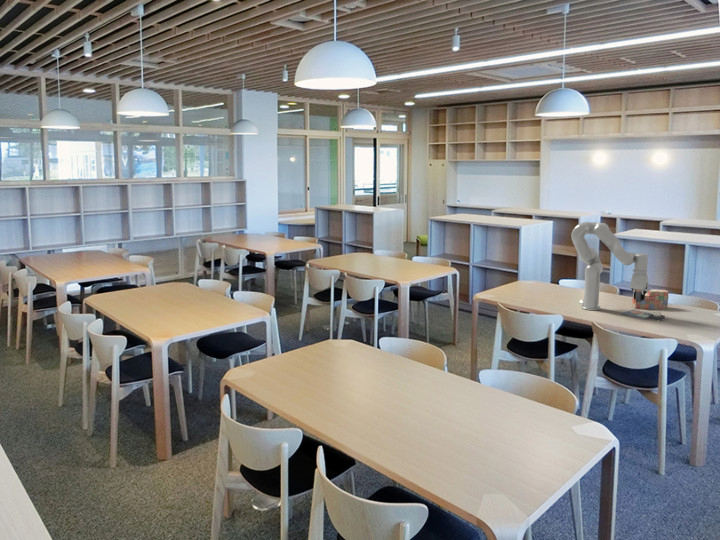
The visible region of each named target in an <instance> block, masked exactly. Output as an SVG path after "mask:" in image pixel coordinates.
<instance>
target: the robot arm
mask: <svg viewBox="0 0 720 540" xmlns="http://www.w3.org/2000/svg"><path fill="white" fill-rule="evenodd" d="M609 227H610V226H609V225H608V224H607V223H604V222H593V221H591V222H590V221H584V222H580V223H578V224H577V225H576V226H575V227H574V228H573V230H572V231H571V233H570V234H571V241H572V244H573V247H574V248H575V250H576V252H577V254H578V256H579V260H580V261H582V262H583V263H584V264H586V267H585V270H584V296H583V299H580V301H579V304H581V306H580V307H581V309H583V310H586V309H587V310H586V311H600V310H601V308H602V307H601V306H600V305H599V303H600V287H601V285H600V284H601V273H602V272H603V271H604V270H603V269H604V265H603V263H602V262H601V261H602V260H600V257H599V255H598V253H597V252H596V250H595V249H594V248H592V247H590V246H589V244H588V241H587V240H586V238H585V236H586V235H593V236H594V235H595V236H596V237H597V238H598V240H600V241H601V242H602V243H603V244H604V245H605V247H607V248H608V249H609V250H610V252H611V253H612V254H613V256H614V257H615V259H617V260H618V261H619V262H620V263H621V264H623V265H624V266H630V265H632V264H634V267H633V269H632V272H633V273H632V276H631V280H630V286H629V289H631V291H632V293H633V294H634V299H635V297H636V289H638V290H641V292H642V294H641V300H644V299H645V294H646V293H647V292H649V291H650V290H651V289H650V287H649V275H648V257H649V255H648V254H647V253H642V252H641V253H640V252H639V253H637V252H631V251H629V252H628V251H627V250H626V249H625V248H624V247H623V246H622V244H621V241H620V240H619V237H617V236H616V234H614V233H613V232H612V231H611V230H610V228H609Z"/></svg>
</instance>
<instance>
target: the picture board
mask: <svg viewBox="0 0 720 540" xmlns="http://www.w3.org/2000/svg"><path fill="white" fill-rule="evenodd" d="M620 314H621V315H626V316H627V317H628V316H629V317H633V318H638V319H642V320H647V319H649V315H652V314H653V313H651V312H646V311H643V310H642V311H641V310H637V309H631V310H627V311H625V310H624V311H621V312H620Z"/></svg>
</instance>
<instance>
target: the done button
mask: <svg viewBox="0 0 720 540" xmlns="http://www.w3.org/2000/svg"><path fill="white" fill-rule="evenodd" d="M652 314H653V316H657V317H660V316H661V315H662V312H660V311H654V312H653V313H652Z"/></svg>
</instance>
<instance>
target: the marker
mask: <svg viewBox="0 0 720 540" xmlns="http://www.w3.org/2000/svg"><path fill="white" fill-rule="evenodd" d="M641 294H642V292H641V290H638V289H636V297H635V301H636V302H643V300H641Z"/></svg>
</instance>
